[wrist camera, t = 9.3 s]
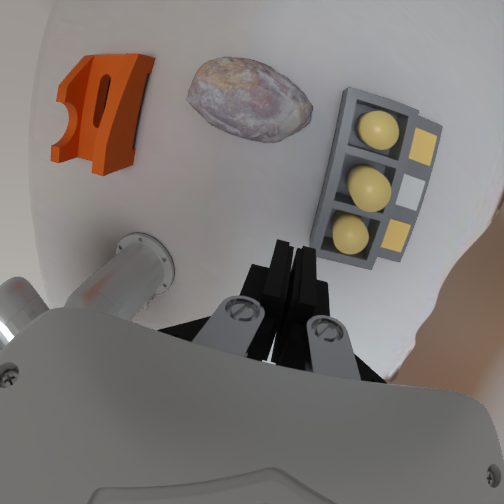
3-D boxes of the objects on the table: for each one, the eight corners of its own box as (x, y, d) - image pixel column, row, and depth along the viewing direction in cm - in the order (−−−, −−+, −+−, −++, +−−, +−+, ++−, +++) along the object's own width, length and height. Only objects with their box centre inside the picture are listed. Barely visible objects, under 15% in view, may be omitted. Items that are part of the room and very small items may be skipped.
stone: (309, 123, 39) (330, 78, 30) (286, 170, 37) (309, 125, 27) (210, 84, 39) (212, 36, 29) (177, 125, 36) (170, 74, 27)
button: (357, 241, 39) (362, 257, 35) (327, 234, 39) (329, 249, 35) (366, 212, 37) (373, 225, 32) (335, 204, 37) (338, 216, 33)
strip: (398, 260, 40) (400, 263, 39) (371, 253, 41) (372, 256, 40) (440, 125, 30) (443, 126, 29) (411, 113, 30) (413, 113, 29)
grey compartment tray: (365, 251, 41) (371, 270, 36) (309, 238, 42) (309, 255, 37) (405, 111, 30) (419, 110, 25) (343, 91, 31) (348, 86, 26)
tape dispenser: (134, 164, 42) (103, 176, 35) (82, 151, 43) (50, 160, 35) (156, 58, 33) (125, 50, 26) (98, 57, 34) (65, 53, 27)
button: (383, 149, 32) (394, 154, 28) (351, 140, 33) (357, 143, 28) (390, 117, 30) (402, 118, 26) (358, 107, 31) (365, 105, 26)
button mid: (375, 203, 33) (384, 216, 29) (342, 194, 34) (346, 206, 29) (385, 169, 31) (396, 178, 27) (350, 159, 31) (357, 166, 27)
